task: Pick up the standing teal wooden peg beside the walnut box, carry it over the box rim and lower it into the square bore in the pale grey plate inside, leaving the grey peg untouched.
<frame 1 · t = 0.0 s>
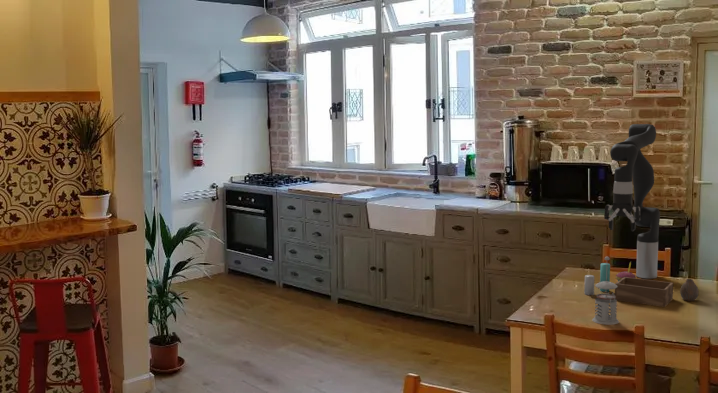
hand: (621, 230, 300), 29 cm above the table, tool pointing down, fingers open, 8 cm apart
peg box: (643, 299, 301), on the table
french press: (606, 321, 272), on the table
teal peg: (604, 290, 316), on the table
vase: (688, 300, 299), on the table
grey peg: (589, 294, 311), on the table
cupcake: (625, 287, 322), on the table
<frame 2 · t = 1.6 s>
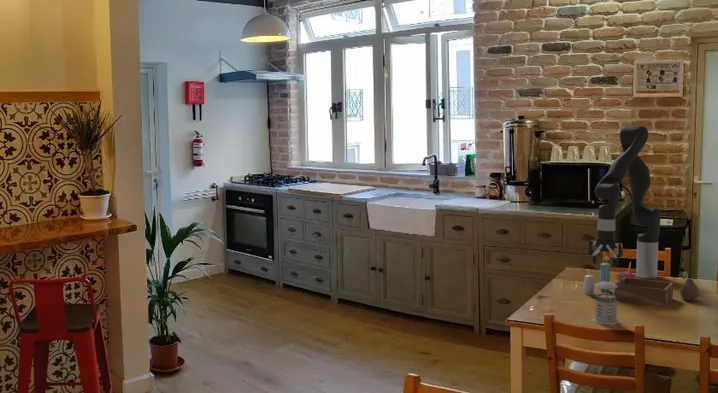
hand: (605, 265, 315), 12 cm above the table, tool pointing down, fingers open, 8 cm apart
nothing on the table moved.
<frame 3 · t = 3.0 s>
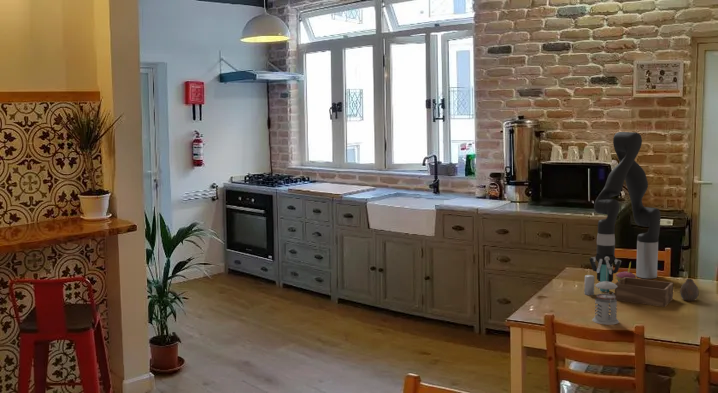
hand: (604, 281, 316), 4 cm above the table, tool pointing down, fingers closed on teal peg, 4 cm apart
teal peg: (604, 290, 316), on the table, touching gripper
everything else where it was.
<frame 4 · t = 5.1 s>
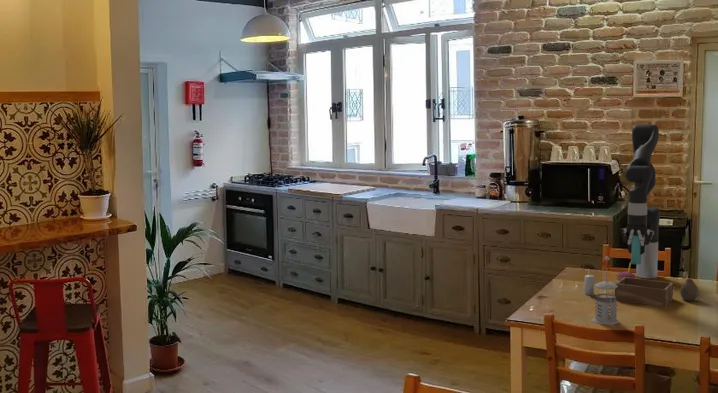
hand: (636, 253, 300), 19 cm above the table, tool pointing down, fingers closed on teal peg, 4 cm apart
teal peg: (635, 263, 301), point 15 cm above the table, touching gripper
everything else where it was.
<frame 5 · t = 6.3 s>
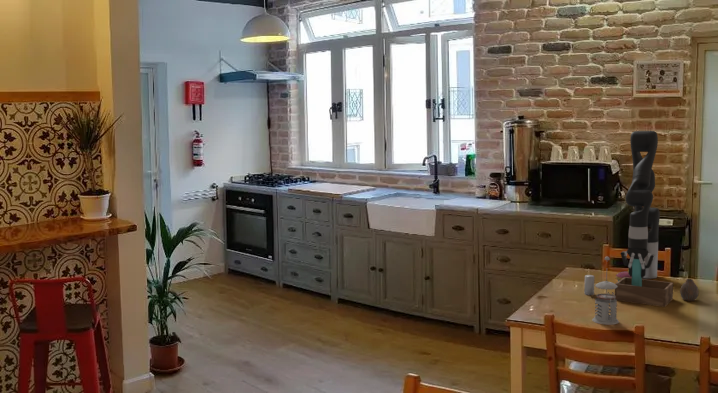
hand: (636, 276, 301), 10 cm above the table, tool pointing down, fingers closed on teal peg, 4 cm apart
teal peg: (636, 286, 302), point 5 cm above the table, touching gripper
everything else where it was.
when the fingers open (6 cm above the table, at t = 7.2 s): teal peg drops 2 cm, resting in peg box.
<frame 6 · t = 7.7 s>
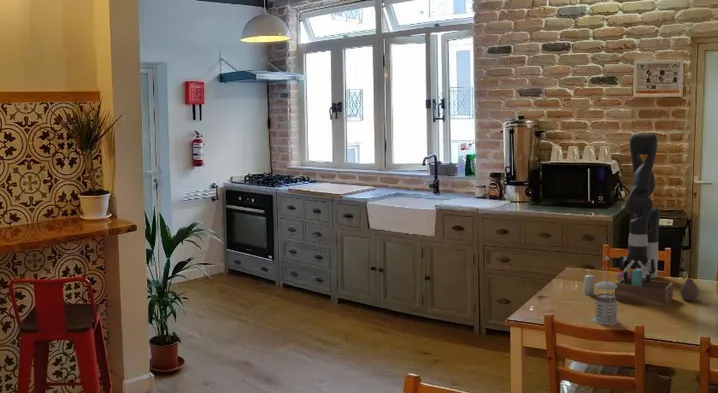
hand: (636, 281, 302), 7 cm above the table, tool pointing down, fingers open, 8 cm apart
teal peg: (636, 298, 303), resting in peg box
everything else where it was.
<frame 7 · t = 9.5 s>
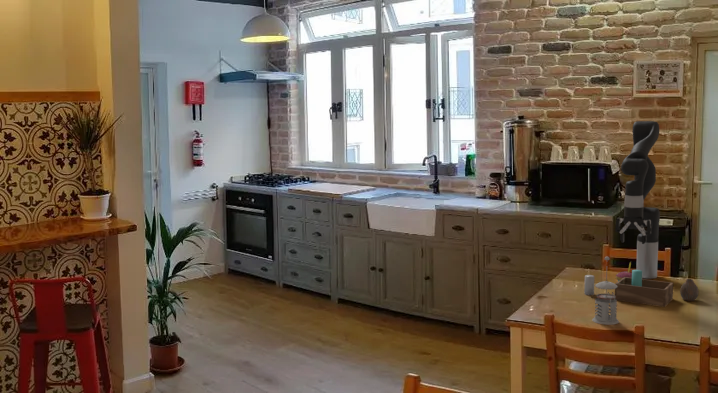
hand: (633, 242, 305), 23 cm above the table, tool pointing down, fingers open, 8 cm apart
nothing on the table moved.
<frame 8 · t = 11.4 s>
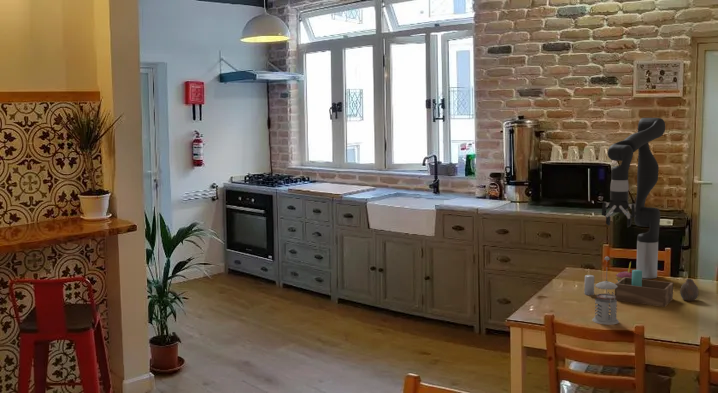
hand: (618, 226, 317), 28 cm above the table, tool pointing down, fingers open, 8 cm apart
nothing on the table moved.
at the end: teal peg 0.0 cm from the target spot on the peg box, point 0.0 cm above the peg box's base; teal peg tilted 0°; the gripper is holding nothing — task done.
